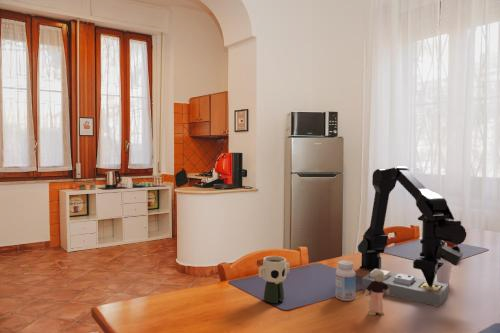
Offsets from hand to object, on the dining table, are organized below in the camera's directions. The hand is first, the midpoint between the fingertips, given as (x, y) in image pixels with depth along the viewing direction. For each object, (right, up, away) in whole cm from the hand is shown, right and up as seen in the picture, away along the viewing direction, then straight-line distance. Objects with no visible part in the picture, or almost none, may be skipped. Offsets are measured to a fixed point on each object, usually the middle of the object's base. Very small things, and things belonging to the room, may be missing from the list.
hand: (430, 285), depth 124 cm
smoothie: (+11, -3, +14) cm, 18 cm away
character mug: (-49, -4, -4) cm, 50 cm away
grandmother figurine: (-21, -4, -12) cm, 24 cm away
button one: (-13, -1, +10) cm, 16 cm away
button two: (-6, -1, +5) cm, 8 cm away
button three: (0, -3, 0) cm, 3 cm away
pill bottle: (-27, -4, -1) cm, 27 cm away
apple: (+28, -2, +48) cm, 55 cm away
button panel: (-6, -3, +5) cm, 9 cm away
